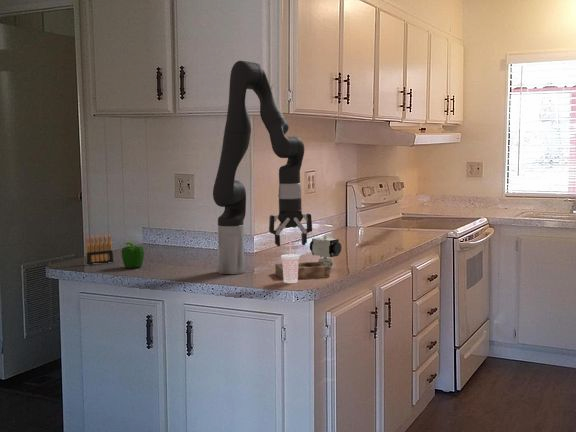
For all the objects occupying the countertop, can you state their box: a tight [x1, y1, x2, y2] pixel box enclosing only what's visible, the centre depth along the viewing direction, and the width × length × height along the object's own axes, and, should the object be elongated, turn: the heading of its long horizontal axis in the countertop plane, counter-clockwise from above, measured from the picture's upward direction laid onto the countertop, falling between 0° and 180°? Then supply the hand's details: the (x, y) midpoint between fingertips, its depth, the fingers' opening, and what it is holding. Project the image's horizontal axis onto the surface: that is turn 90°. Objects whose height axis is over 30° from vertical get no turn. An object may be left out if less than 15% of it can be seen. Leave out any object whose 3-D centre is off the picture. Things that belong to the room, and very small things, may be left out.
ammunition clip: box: [85, 232, 114, 264], centre depth 275 cm, size 11×2×12 cm, turn 125°
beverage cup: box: [280, 240, 300, 284], centre depth 235 cm, size 6×6×14 cm
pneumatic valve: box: [309, 235, 342, 269], centre depth 261 cm, size 6×12×12 cm, turn 51°
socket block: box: [274, 261, 330, 280], centre depth 247 cm, size 17×11×4 cm, turn 102°
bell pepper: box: [121, 241, 145, 269], centre depth 266 cm, size 8×8×10 cm
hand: (291, 245), depth 234 cm, fingers open, 8 cm apart
